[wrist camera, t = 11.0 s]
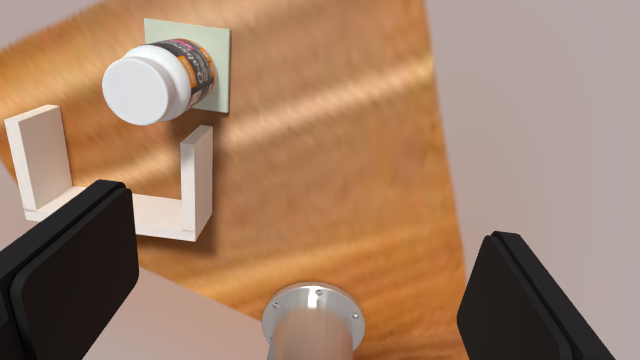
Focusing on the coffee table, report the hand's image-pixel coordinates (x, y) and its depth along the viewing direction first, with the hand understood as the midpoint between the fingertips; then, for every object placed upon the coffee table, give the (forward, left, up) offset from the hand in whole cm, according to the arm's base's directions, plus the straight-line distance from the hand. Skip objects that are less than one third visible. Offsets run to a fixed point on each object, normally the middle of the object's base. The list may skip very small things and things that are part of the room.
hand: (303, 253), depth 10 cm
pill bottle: (-1, +13, -28) cm, 31 cm away
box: (-12, +19, -28) cm, 36 cm away
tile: (-1, +13, -28) cm, 31 cm away
